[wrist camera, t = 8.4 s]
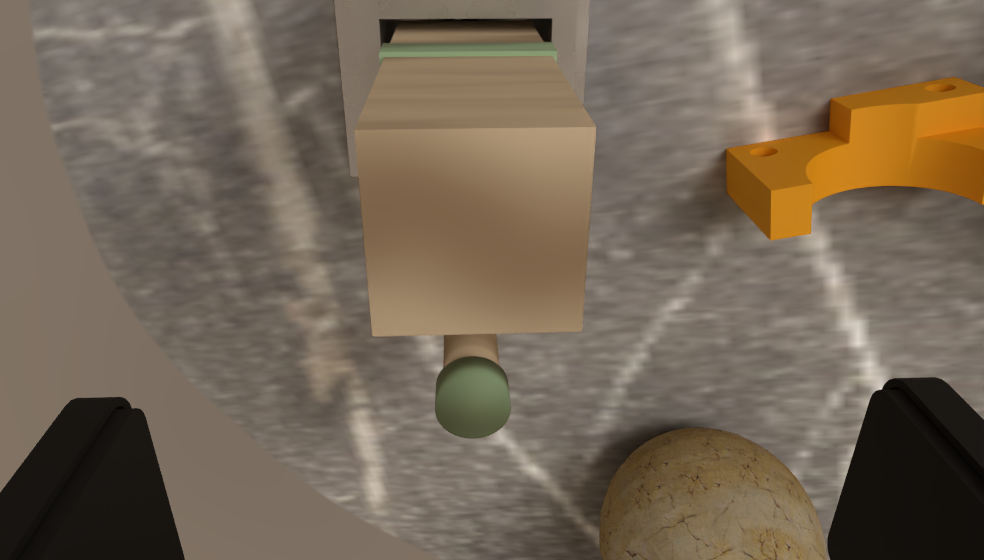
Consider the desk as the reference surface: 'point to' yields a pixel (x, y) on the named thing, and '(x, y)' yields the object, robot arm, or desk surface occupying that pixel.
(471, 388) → the marker post
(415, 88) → the column
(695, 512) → the fossilized egg
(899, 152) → the pipe clamp
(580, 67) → the sleeve
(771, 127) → the desk surface
